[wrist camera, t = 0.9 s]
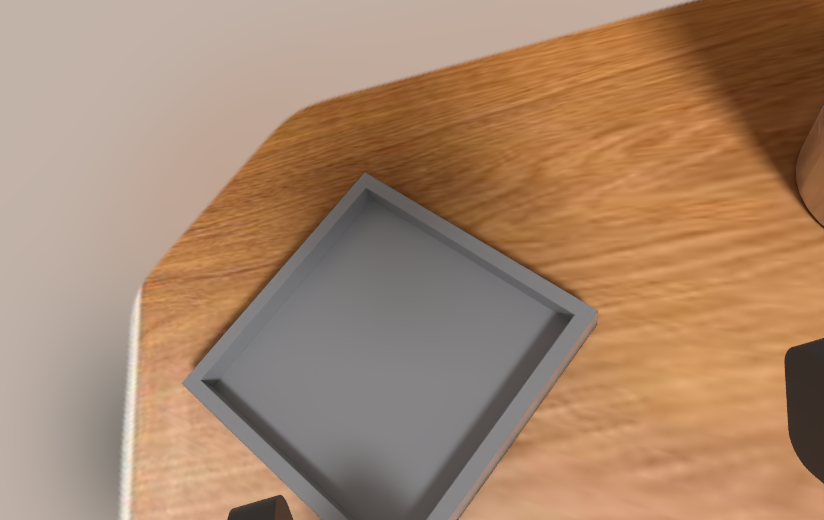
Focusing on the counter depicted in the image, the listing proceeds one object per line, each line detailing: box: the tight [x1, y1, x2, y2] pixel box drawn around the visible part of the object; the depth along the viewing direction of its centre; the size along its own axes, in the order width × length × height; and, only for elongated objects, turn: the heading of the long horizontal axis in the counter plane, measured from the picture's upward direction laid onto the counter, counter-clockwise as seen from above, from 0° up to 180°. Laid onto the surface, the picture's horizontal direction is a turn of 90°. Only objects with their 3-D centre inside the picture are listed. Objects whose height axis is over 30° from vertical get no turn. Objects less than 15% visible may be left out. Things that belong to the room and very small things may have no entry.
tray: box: [182, 172, 598, 520], centre depth 34 cm, size 16×16×2 cm
